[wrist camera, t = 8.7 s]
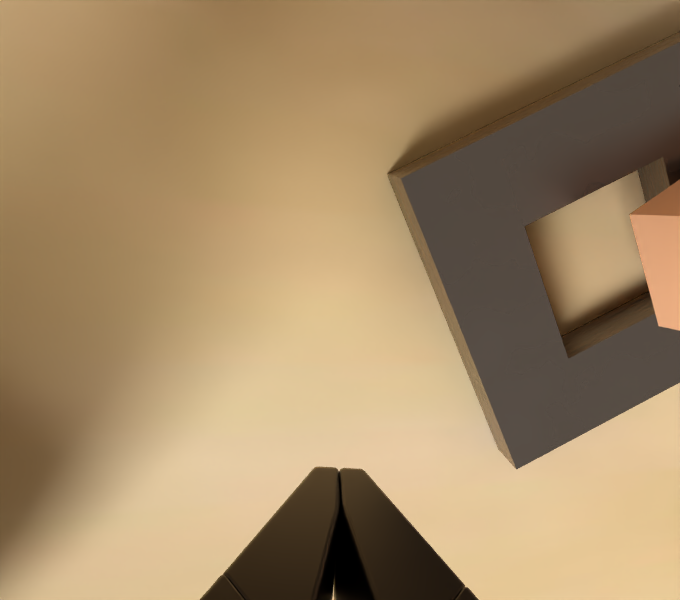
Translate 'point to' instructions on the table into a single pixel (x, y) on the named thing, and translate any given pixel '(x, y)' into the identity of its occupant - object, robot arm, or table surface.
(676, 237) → the block
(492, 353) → the plate
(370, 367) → the table surface
